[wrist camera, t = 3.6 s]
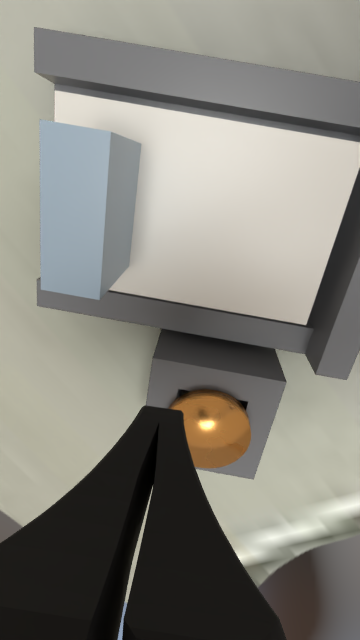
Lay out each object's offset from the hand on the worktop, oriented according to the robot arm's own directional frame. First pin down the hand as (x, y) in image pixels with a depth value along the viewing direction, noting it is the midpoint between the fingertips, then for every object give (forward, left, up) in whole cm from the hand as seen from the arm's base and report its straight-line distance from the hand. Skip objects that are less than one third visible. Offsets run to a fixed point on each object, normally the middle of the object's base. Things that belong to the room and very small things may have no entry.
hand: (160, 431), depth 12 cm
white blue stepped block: (0, -6, -9) cm, 11 cm away
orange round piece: (-2, +4, -9) cm, 10 cm away
